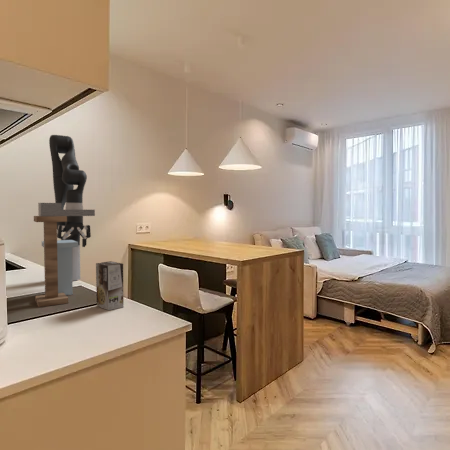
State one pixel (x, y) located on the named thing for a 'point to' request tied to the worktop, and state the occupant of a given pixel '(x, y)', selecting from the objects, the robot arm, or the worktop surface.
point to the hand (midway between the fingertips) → (74, 247)
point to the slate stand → (65, 265)
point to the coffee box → (109, 285)
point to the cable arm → (56, 210)
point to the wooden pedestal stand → (50, 262)
